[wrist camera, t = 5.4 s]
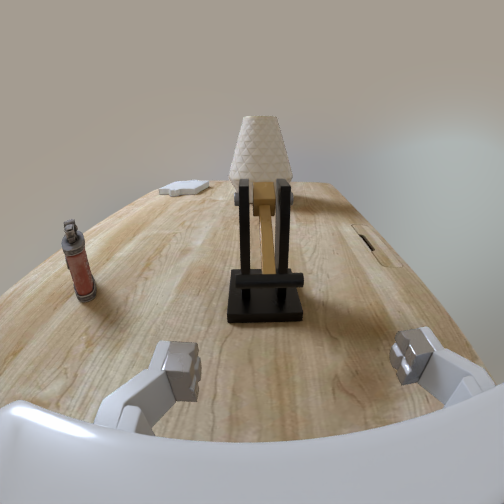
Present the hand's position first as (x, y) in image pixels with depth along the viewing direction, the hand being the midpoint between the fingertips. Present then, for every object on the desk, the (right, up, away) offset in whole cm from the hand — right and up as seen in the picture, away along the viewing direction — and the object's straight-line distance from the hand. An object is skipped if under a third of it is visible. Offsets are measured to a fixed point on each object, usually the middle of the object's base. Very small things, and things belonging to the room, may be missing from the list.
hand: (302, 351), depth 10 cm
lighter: (-26, -1, +25) cm, 36 cm away
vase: (+1, +18, +68) cm, 71 cm away
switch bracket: (-1, -2, +24) cm, 24 cm away
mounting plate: (-25, +25, +82) cm, 89 cm away
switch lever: (-1, +5, +17) cm, 18 cm away
